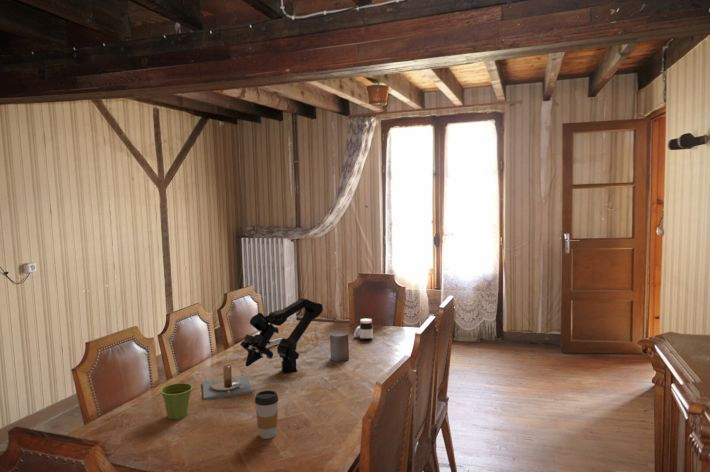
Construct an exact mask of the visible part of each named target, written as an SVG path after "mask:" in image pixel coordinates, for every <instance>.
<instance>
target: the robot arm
mask: <svg viewBox="0 0 710 472" xmlns="http://www.w3.org/2000/svg"><path fill="white" fill-rule="evenodd" d="M323 308H324V307H323V304H322V303H319V302H315V301H312V300H310V299H307V298H303V297H301V298H299V299H298V300H296V301H295V302H293V303H291V304H289V305H287V306H286V307H284V308H283V309H279V310H274V311H272V312H270V313H268V315H265V316H264V314H263V313H261V312H258V313H257V314H254V316H252V317H251V318H250V320H249V324H250V325H251V326H252V327H253V328H255V330H257V331H258V332H259V334H258V333H257V334H254V335H250V334H245V337H244V339H243V340H242V341H241V342H240V344H239V346H241V347H242V348H243V349H244V350H246V351H247V358H246V360H245V367H249V366H251V365H252V364H254V363H256V361H259V360H261V359H263V358H264V355H265V356H266V358H267V359H270V360H272V359H273V356H274V352H273V351H272V350H270V349H269V348H268V347H266V345H267V344H270V341H271V340H272V337H273V335H274V334H275V333H276V334H279V333H280V332H279V327H280V326H282V325H284V323H286V322H287V320H288V318H290V317H291V316H293V315H294V314H296V313H297V312H299V311H301V310H303V309H304V311H303V312H304V314H303V316H302V318H301V319H300V320H299V321H298V323H297V324H296V326H295V327H294V329H293V330H292V332H291V333H290V335H289V336H288V337H287V338H284V337H282V338H283V339H282V340H281V342H280V343H279V344H277V345H278V346H277V348H276V351H277V354H278V355H279V358H281V359H282V360H281V361H280V365H281V367H280V368H281V371H282V372H283V373H284V374H289V373H294V372H298V369H297V360H298V359H299V357H300V355H299V353H298V352H297V351H296V350H297V344H298V342H299V340H300V339H301V337H302V336H303V335H304V333H305V331H306V330H307V328H308V327H309V326H310V324H311V322H313V320H315V319H316V318H318V317H319V316H320V315H321V314H323V310H324V309H323Z"/></svg>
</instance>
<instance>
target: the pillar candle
mask: <svg viewBox="0 0 710 472" xmlns="http://www.w3.org/2000/svg"><path fill="white" fill-rule="evenodd" d="M329 341H330V343H329V346H330V360H331V361H333V362H336V363H337V362H338V363H339V362H340V363H342V362H346V361H348V360H350V353H349V352H350V350H349V348H350V346H349V345H350V343H349V332H348V331H345V330H338V331H337V330H336V331H332V332H330V333H329Z"/></svg>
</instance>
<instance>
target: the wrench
mask: <svg viewBox="0 0 710 472" xmlns="http://www.w3.org/2000/svg"><path fill="white" fill-rule="evenodd" d="M283 338H284V337H279V338H276V339H270V344H267V345H266V348H268V347H272V346H276V345H278V344H279V343H280V342H281V340H282V339H283Z"/></svg>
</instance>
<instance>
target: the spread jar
mask: <svg viewBox="0 0 710 472" xmlns="http://www.w3.org/2000/svg"><path fill="white" fill-rule="evenodd" d="M359 322H360V324H359V325H358V326H357V327H356V328H355V330H354V333H353V337H355V338H358V337H359V338H360V341H364V342H365V341H372V340H373V338H374V336H373V335H374V331H373V330H374V329H373V328H374V326H373V319H372V318H360V321H359Z"/></svg>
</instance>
